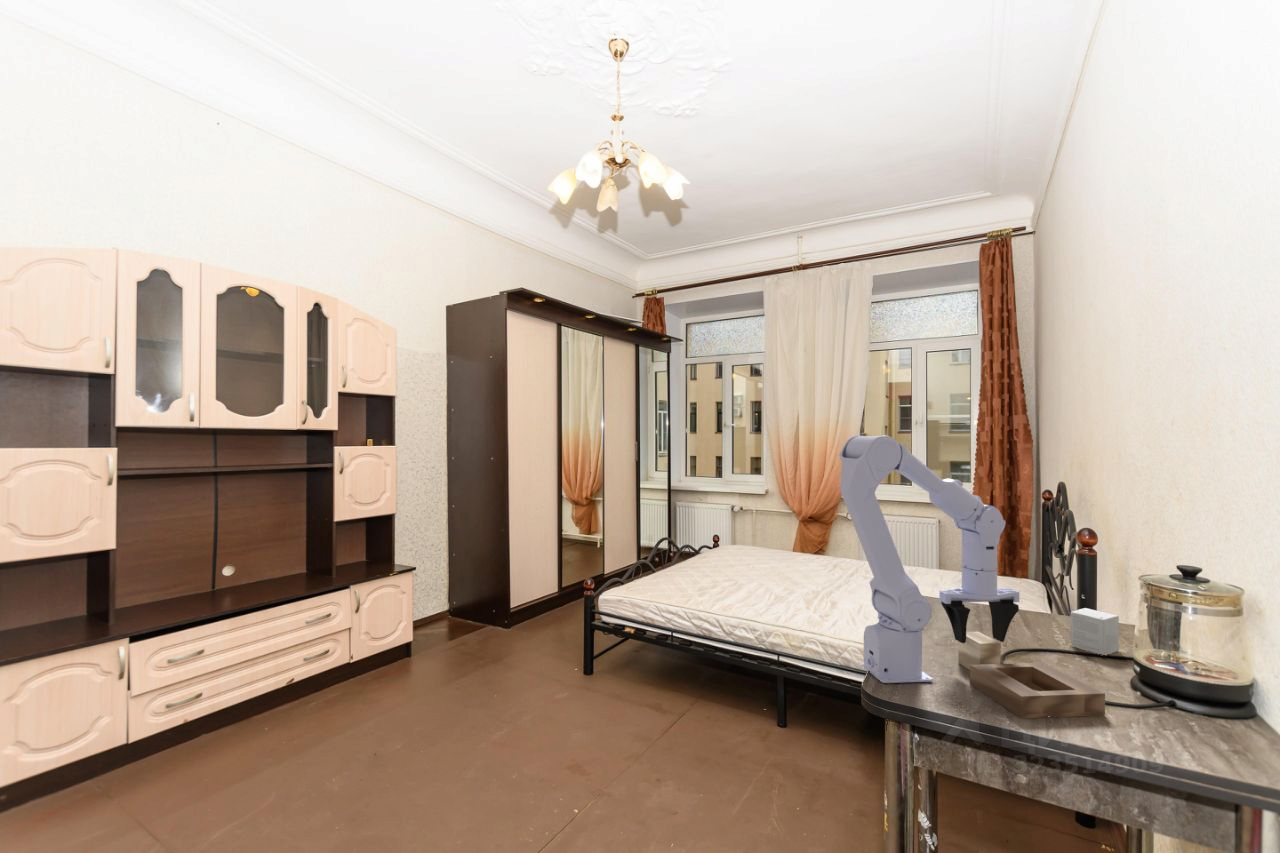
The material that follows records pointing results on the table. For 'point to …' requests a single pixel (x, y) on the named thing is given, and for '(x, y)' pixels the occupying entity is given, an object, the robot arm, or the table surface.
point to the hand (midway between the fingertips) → (979, 640)
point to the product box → (1095, 631)
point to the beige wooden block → (978, 650)
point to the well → (1037, 690)
